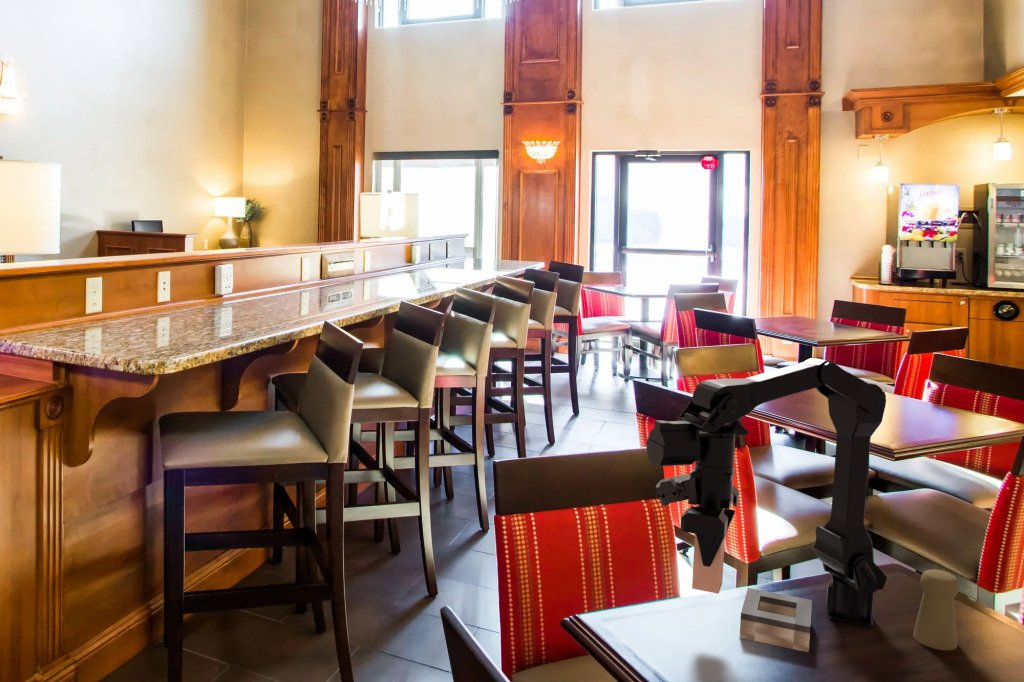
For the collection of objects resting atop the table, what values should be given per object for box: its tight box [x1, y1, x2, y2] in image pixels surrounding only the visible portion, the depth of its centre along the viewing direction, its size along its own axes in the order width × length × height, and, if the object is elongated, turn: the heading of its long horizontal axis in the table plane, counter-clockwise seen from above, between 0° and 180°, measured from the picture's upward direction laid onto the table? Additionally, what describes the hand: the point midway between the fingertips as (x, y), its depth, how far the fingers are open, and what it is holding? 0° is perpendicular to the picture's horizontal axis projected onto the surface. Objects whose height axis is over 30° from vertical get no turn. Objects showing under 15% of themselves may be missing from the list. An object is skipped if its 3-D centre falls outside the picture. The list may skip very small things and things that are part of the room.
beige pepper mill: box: [912, 569, 960, 651], centre depth 112 cm, size 6×6×11 cm
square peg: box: [691, 534, 726, 594], centre depth 112 cm, size 4×4×10 cm
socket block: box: [739, 587, 813, 653], centre depth 115 cm, size 10×10×4 cm
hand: (708, 561), depth 112 cm, fingers closed on square peg, 4 cm apart
